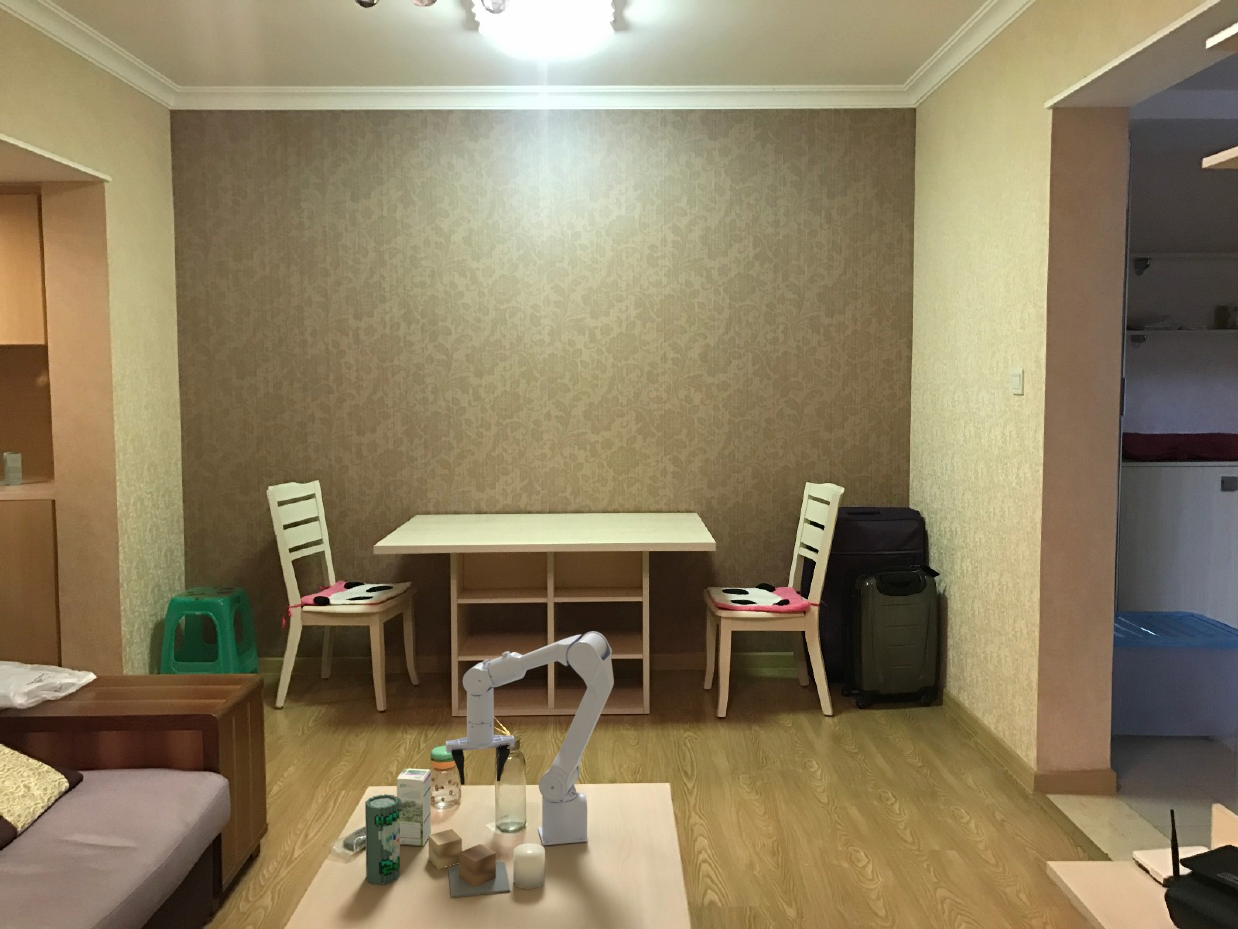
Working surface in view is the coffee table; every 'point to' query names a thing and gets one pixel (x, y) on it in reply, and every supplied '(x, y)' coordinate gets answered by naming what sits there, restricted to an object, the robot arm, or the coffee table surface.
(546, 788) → the robot arm
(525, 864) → the white pillar candle
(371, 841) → the can
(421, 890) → the coffee table surface
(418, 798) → the syrup box
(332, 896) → the coffee table surface
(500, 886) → the rubber mat
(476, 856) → the walnut block
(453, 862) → the oak block
